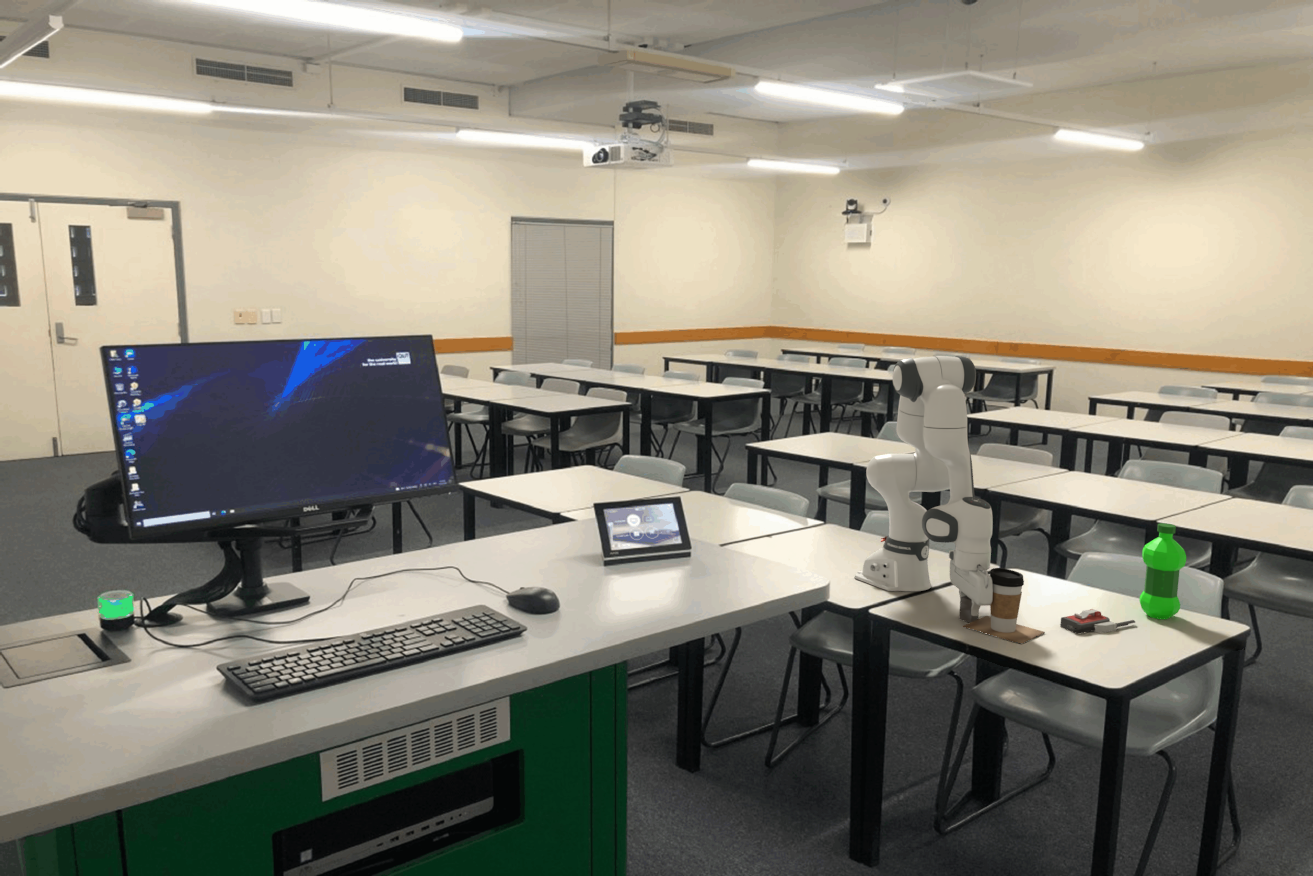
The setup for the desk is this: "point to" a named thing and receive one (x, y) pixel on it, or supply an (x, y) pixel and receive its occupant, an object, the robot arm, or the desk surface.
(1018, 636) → the walnut strip
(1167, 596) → the plastic bottle
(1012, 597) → the coffee cup
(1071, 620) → the walkie-talkie
